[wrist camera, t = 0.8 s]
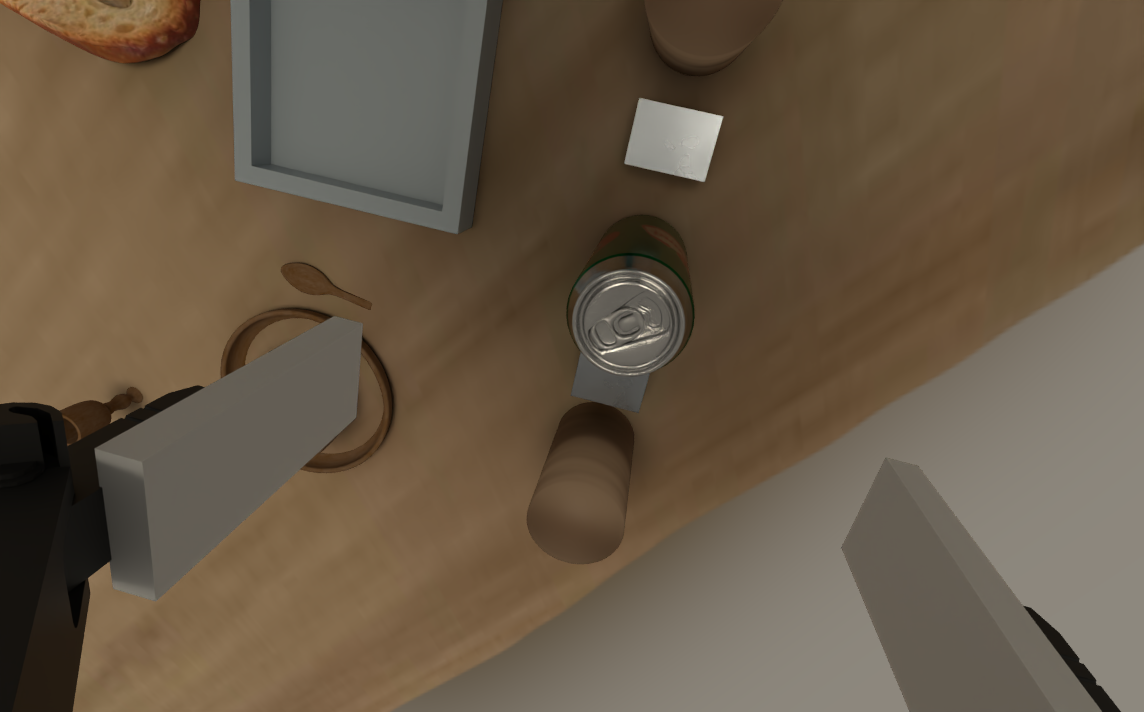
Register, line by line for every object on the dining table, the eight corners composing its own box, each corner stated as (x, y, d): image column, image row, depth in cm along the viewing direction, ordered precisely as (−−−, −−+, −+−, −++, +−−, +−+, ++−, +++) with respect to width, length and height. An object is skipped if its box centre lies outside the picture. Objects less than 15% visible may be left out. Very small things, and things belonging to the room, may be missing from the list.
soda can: (701, 278, 33) (718, 354, 22) (622, 315, 34) (600, 405, 23) (662, 196, 32) (658, 234, 20) (581, 239, 33) (537, 296, 22)
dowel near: (664, -51, 27) (663, -129, 19) (769, -30, 27) (813, -99, 19) (638, 64, 29) (626, 39, 21) (735, 85, 29) (762, 69, 21)
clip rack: (691, -111, 26) (693, -139, 24) (777, -94, 26) (790, -120, 23) (551, 491, 40) (542, 518, 37) (608, 506, 39) (603, 535, 37)
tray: (262, -83, 30) (228, -101, 27) (507, -32, 29) (493, -46, 26) (263, 176, 35) (234, 180, 32) (471, 226, 34) (457, 234, 31)
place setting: (364, 515, 44) (321, 570, 38) (120, 405, 44) (43, 445, 38) (432, 315, 37) (391, 347, 32) (143, 183, 37) (52, 193, 31)
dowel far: (565, 393, 37) (536, 471, 29) (642, 413, 36) (635, 497, 28) (551, 459, 39) (519, 549, 30) (623, 478, 38) (611, 574, 30)
